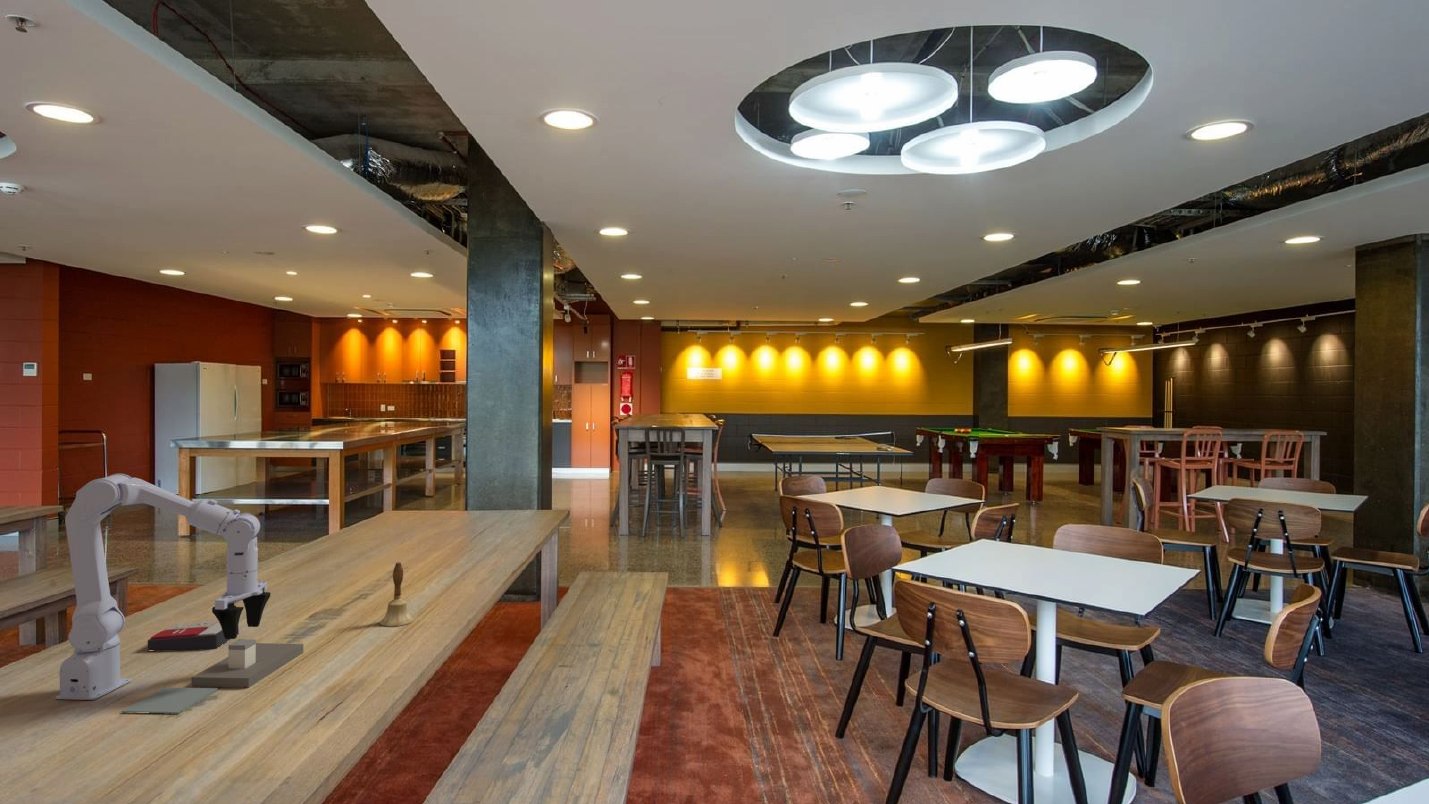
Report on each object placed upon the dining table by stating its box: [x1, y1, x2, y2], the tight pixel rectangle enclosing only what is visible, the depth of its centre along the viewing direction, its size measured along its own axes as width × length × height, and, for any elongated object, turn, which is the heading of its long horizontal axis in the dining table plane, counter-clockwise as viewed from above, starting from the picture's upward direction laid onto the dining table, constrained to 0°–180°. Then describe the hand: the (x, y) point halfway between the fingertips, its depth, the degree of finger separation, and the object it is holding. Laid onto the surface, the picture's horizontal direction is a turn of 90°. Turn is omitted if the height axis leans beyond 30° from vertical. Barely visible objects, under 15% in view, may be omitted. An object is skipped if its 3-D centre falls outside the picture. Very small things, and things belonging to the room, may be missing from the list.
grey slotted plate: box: [191, 642, 304, 689], centre depth 162 cm, size 20×12×2 cm, turn 0°
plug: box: [227, 638, 257, 669], centre depth 159 cm, size 4×4×7 cm
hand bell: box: [379, 561, 414, 628], centre depth 195 cm, size 8×8×16 cm
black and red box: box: [147, 619, 240, 651], centre depth 177 cm, size 11×4×15 cm
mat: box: [120, 686, 219, 715], centre depth 145 cm, size 11×11×1 cm
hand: (242, 632), depth 159 cm, fingers open, 7 cm apart
